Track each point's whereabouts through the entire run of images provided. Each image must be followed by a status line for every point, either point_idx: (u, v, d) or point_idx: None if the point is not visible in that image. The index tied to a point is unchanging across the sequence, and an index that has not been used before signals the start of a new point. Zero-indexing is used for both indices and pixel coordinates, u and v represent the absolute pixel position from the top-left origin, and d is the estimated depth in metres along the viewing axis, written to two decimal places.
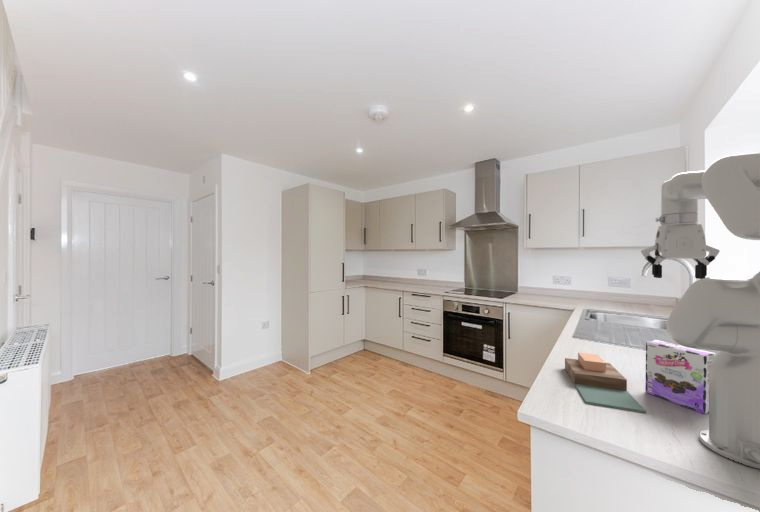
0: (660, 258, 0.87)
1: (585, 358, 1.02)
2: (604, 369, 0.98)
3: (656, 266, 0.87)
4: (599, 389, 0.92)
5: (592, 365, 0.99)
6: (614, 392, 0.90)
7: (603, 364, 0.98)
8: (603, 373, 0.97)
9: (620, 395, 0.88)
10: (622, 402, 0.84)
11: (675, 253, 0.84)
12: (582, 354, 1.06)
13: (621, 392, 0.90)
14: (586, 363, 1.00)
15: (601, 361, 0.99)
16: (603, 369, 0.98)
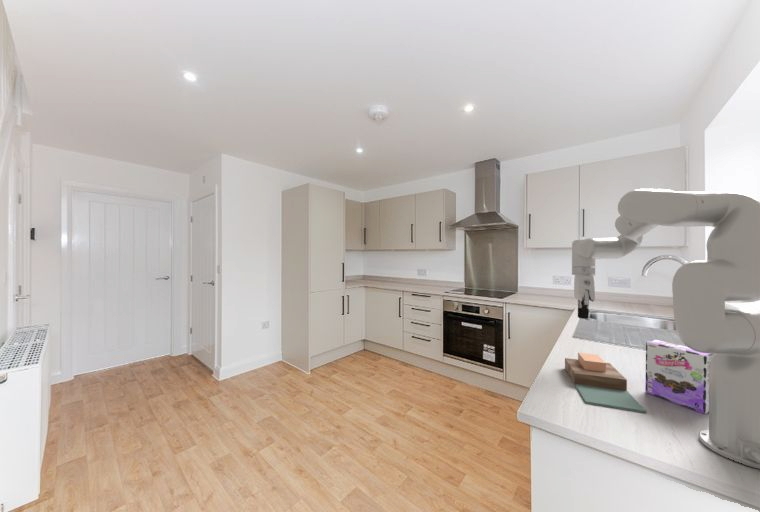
0: None
1: (585, 358, 1.02)
2: (604, 369, 0.98)
3: None
4: (599, 389, 0.92)
5: (592, 365, 0.99)
6: (614, 392, 0.90)
7: (603, 364, 0.98)
8: (603, 373, 0.97)
9: (620, 395, 0.88)
10: (622, 402, 0.84)
11: None
12: (582, 354, 1.06)
13: (621, 392, 0.90)
14: (586, 363, 1.00)
15: (601, 361, 0.99)
16: (603, 369, 0.98)
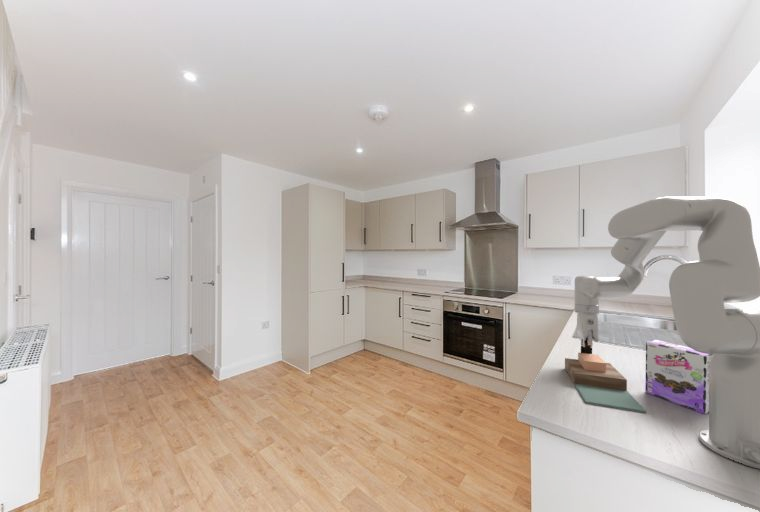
0: None
1: (585, 358, 1.02)
2: (604, 369, 0.98)
3: None
4: (599, 389, 0.92)
5: (592, 365, 0.99)
6: (614, 392, 0.90)
7: (603, 364, 0.98)
8: (603, 373, 0.97)
9: (620, 395, 0.88)
10: (622, 402, 0.84)
11: None
12: (582, 355, 1.06)
13: (621, 392, 0.90)
14: (586, 363, 1.00)
15: (601, 361, 0.99)
16: (603, 369, 0.98)
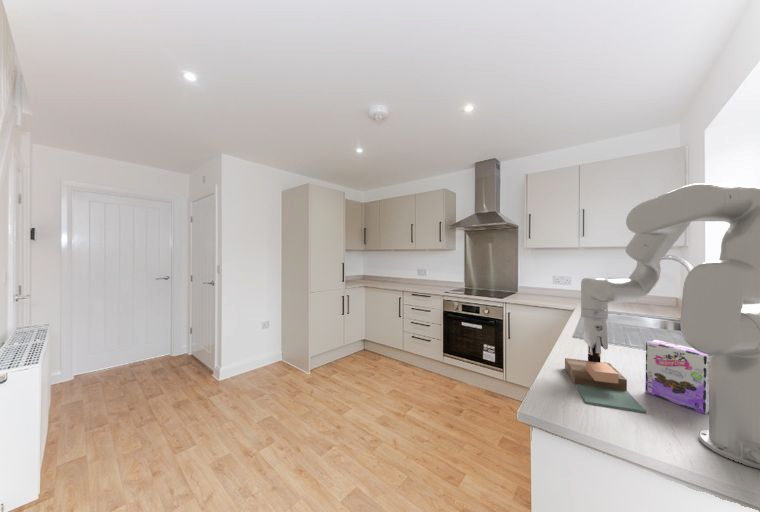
0: None
1: (595, 368, 0.93)
2: (616, 380, 0.89)
3: None
4: (599, 389, 0.92)
5: (603, 376, 0.90)
6: (614, 392, 0.90)
7: (615, 375, 0.89)
8: None
9: (620, 395, 0.88)
10: (622, 402, 0.84)
11: None
12: (590, 364, 0.97)
13: (621, 392, 0.90)
14: (597, 374, 0.91)
15: (613, 372, 0.90)
16: (615, 380, 0.89)
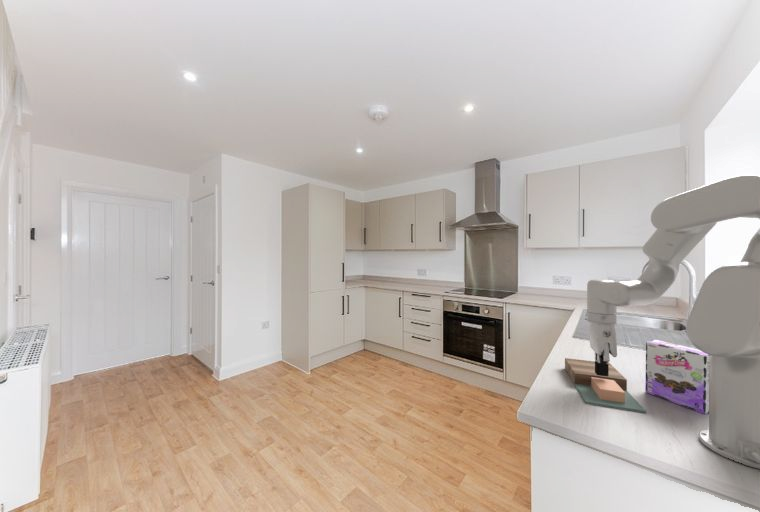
0: None
1: (600, 385, 0.88)
2: (623, 399, 0.84)
3: None
4: None
5: (608, 394, 0.86)
6: None
7: (622, 394, 0.84)
8: None
9: None
10: (622, 402, 0.84)
11: None
12: (596, 380, 0.92)
13: None
14: (602, 392, 0.86)
15: (619, 390, 0.86)
16: (622, 399, 0.84)
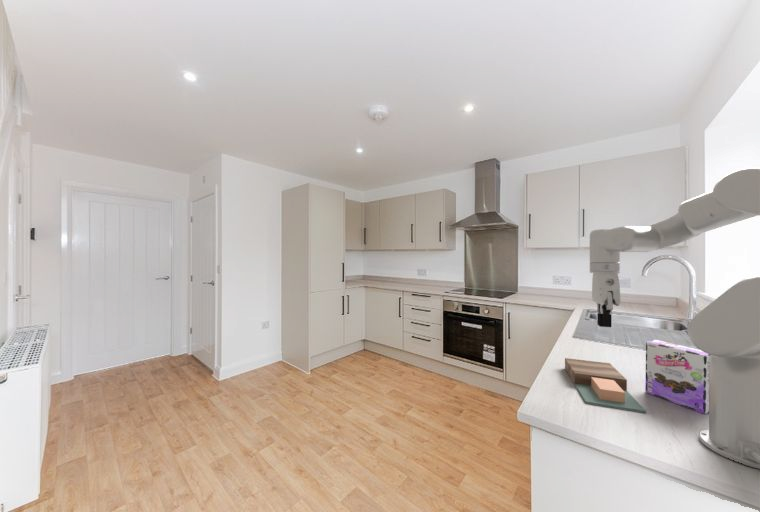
0: None
1: (600, 385, 0.88)
2: (623, 399, 0.84)
3: None
4: None
5: (608, 394, 0.86)
6: None
7: (622, 394, 0.84)
8: (603, 373, 0.97)
9: None
10: (622, 402, 0.84)
11: None
12: (596, 380, 0.92)
13: None
14: (602, 392, 0.86)
15: (619, 390, 0.86)
16: (622, 399, 0.84)
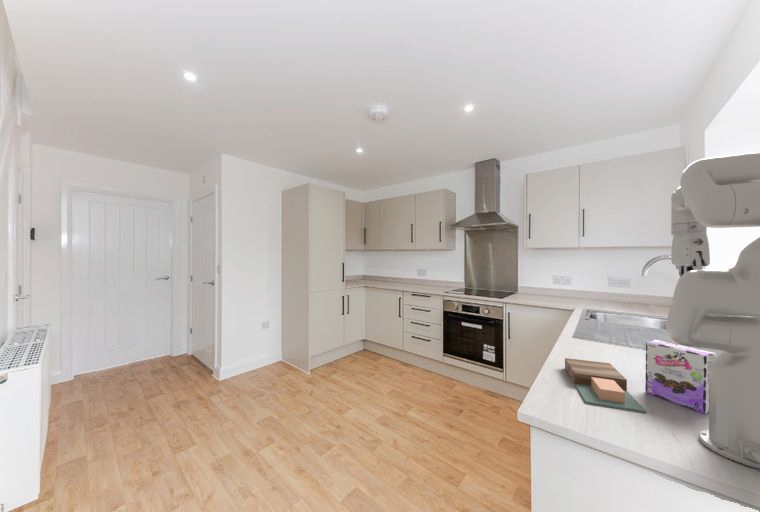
0: None
1: (600, 385, 0.88)
2: (623, 399, 0.84)
3: None
4: None
5: (608, 394, 0.86)
6: None
7: (622, 394, 0.84)
8: (603, 373, 0.97)
9: None
10: (622, 402, 0.84)
11: None
12: (596, 380, 0.92)
13: None
14: (602, 392, 0.86)
15: (619, 390, 0.86)
16: (622, 399, 0.84)
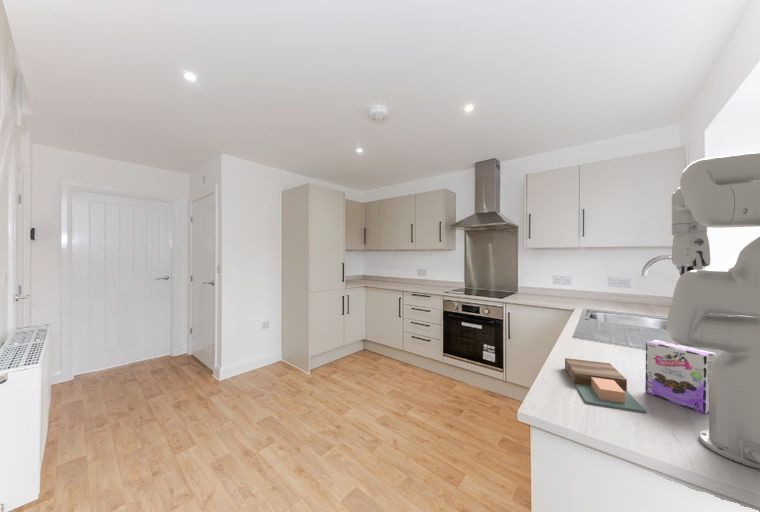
0: None
1: (600, 385, 0.88)
2: (623, 399, 0.84)
3: None
4: None
5: (608, 394, 0.86)
6: None
7: (622, 394, 0.84)
8: (603, 373, 0.97)
9: None
10: (622, 402, 0.84)
11: None
12: (596, 380, 0.92)
13: None
14: (602, 392, 0.86)
15: (619, 390, 0.86)
16: (622, 399, 0.84)
